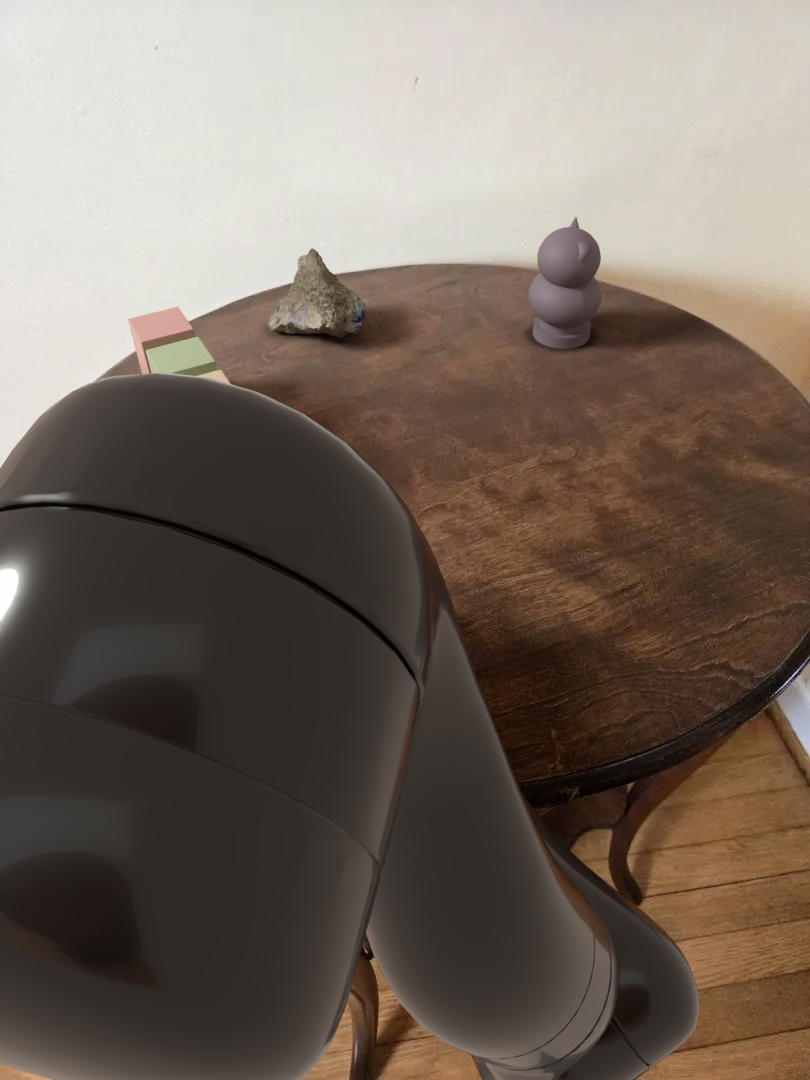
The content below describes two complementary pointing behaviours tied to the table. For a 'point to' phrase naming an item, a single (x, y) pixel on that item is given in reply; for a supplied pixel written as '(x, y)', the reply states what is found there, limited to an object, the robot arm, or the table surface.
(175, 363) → the line block
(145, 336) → the line block
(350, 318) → the rock
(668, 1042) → the robot arm
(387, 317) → the table surface
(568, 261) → the cat figurine
